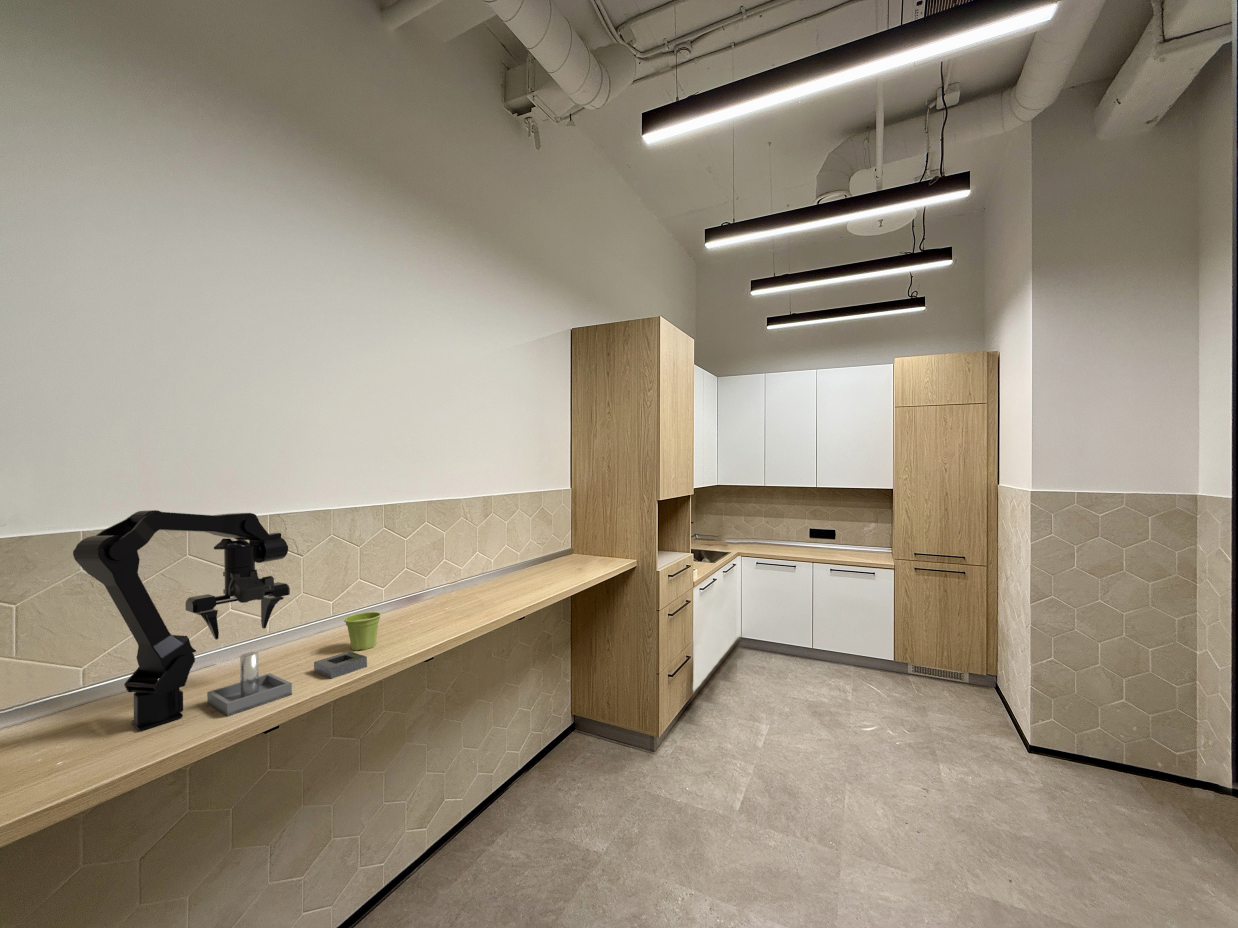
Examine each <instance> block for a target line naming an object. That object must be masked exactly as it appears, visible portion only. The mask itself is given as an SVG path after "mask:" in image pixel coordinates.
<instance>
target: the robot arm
mask: <svg viewBox="0 0 1238 928" xmlns="http://www.w3.org/2000/svg"><path fill="white" fill-rule="evenodd" d="M158 531H174V532H175V531H176V532H197V533H202V532H203V533H208V534H211V535H213V536H216V537H223V538H222V539H221V540H220V541H219V542H218V543H216V544H215V545H214V546H213V550H215V551H217V550H223V556H224V557H223V558H224V559H223V561H224V567H223V568H224V571H223V572H222V576H223V577H224V589H223V591H222V593H223V595H217V596H215V595H212V594H202V595H196V596H189V597H188V598H187V599H186V600H185V611H186V612H189V613H192V614H196V615H199V616H200V617H202V619H203V620H204V622H205V623H206V625H207V627H208V629H209V631H210V632H211V635H212V636H213V638H214V639H215V640H219V637H220V633H219V631H220V630H219V623H218V618H217V617H218V612H219V610H218V609H215V607H216V606H217V605H223V604H228V603H234V602H238V603H241V604H242V603H243V604H245V603H249V602H252V601H256V600H257V601H260V621H261V622H260V623H261V628H262V629H266V628H267V626H268V623H269V620H270V617H271V615H272V612H273V610H274V608H275V607H276V605H277V604H278V603H279V602H280V601H281V600H282V601H283V600H284V598H285V596H290V594H291V591H290V590H291V589H290V586H289V584H288V583H285V582H279V581H277V582H275V579H274V577H273V576H272V575H268V576H267V575H266V576H263V577H261V578H259V575H258V570H257V569H256V563H257V564H261V563H262V564H263V563H267V562H272V561H277V560H282V559H284V558H285V557H286V556H287V555H288V552H289V545H288V544H287V542H286V540H285V538H283V537H282V533H281V532H273V533H268V531H267V530H266V529H265V527H264V526H263V525H262V524H261V523H260V519H259V517H257V514H255V513H252V512H237V513H235V512H234V513H223V514H222V513H221V514H214V515H211V514H196V513H184V512H169V511H168V512H167V511H161V510H156V509H155V510H138V511H136V512H133V514H131V515H130V516H128V517H127V518H125V519H124V520H122V521H119V522H118V523H116V524H113V525H112V526H109V527H108V528H105V529H104V530H101V531H100V532H99V533H97V534H96V535H91V536H87V537H85V538H83V539H81V540H80V541H79V543H78V544H76V547H75V549H74V550H73V552H72V555H73V558H74V560H75V562H76V563H77V564H78V565H79V566H80V567H81V568H82V569H83V570H84V571H85V573H87V574H88V575H90V576H91V577H93V578H94V579H95V580H96V581H98V582H99V583H101V584H102V585H103V586H104V587H105V589H106V591H107V593H108V594H109V596H110V598H111V599H112V601H113V603H114V604H115V607H116V608H117V610H118V612H119V613H120V616H121V617H122V618H123V620H124V622H125V623H126V626H127V627H128V629H129V631H130V632H131V634H132V636H133V637H134V639H135V641H136V643H137V653H136V661H137V665H138V666H137V667H138V668H137V669H135V671H134V672H133V673H132V674H131V675H130V677H128V679H127V680H126V681H125V682H124V685H123V686H124V688H125V689H126V692H127V693H129V694H130V693H133V719H132V720H131V721H130V724H131V725H132V726H133V727H134V728H135V729H136V730H137V731H138V732H139V731H144V730H147V729H150V728H153V727H157V726H160V725H163V724H166V723H168V722H173V721H175V720H178V719H181V718H183V712H184V691H183V690H182V689H181V688H182V687H183V688H184V687H185V686H186V683H187V681H188V677H189V676H190V672H191V669H192V668H193V667H194V666H193V665H194V663H195V662H196V658H195V654H194V653H197V650H196V649H195V648H194V647H193V646H192V644H191V641H190V638H189V637H188V636H187V635H180V634H179V635H178V634H177V635H176V634H171V632H170V631H169V630H168V627H167V626H166V623H165V621H164V620H163V618H162V616H161V614H160V612H159V610H158V609H157V607H156V605H155V603H154V602H153V599H152V598H151V596H150V595H149V592H148V590H147V588H146V587H145V584H144V583H143V581H142V579H141V578H140V576H139V567H140V560H141V559H140V555H139V552H138V551H139V550H140V549H142V548H143V547H144V546H146V545H147V544H148V543H149V542H150V541H151V540H152V538H153V536H154V535H155V533H157V532H158ZM232 538H233V539H234V540H232ZM248 541H249V542H248Z"/></svg>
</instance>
